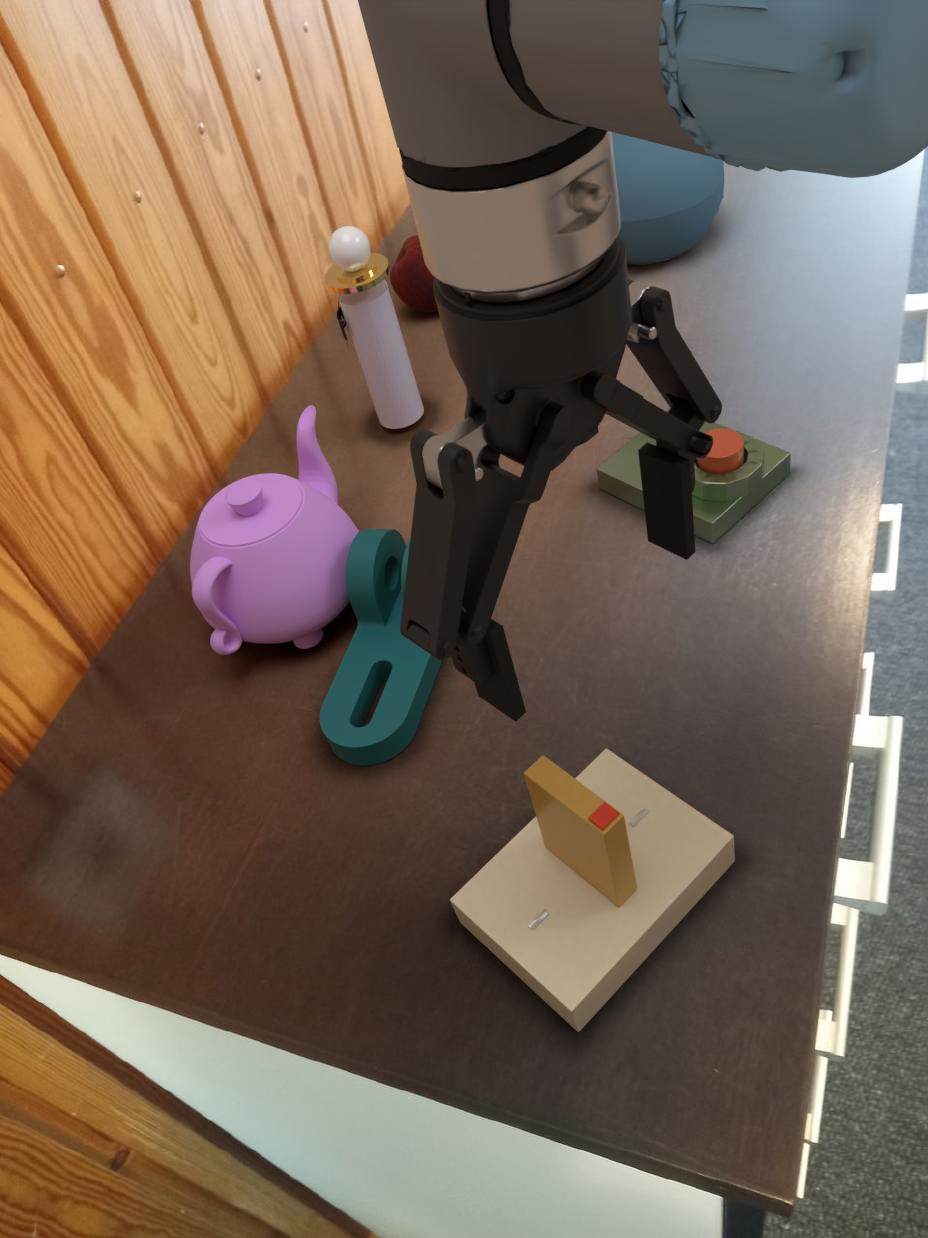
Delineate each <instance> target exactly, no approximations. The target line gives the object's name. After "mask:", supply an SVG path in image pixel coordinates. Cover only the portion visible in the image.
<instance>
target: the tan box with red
mask: <svg viewBox="0 0 928 1238" xmlns="http://www.w3.org/2000/svg"><path fill="white" fill-rule="evenodd" d="M522 775H523V777H524V781H525V784H526V787H527V790H528V794H529V797H530V801H531V803H532V808H533V810H534V813H535V814H534V815H535V817H537V821H538V824H539V827H540V831H541V834H542V837H543V841H544V844H545V847H546V848H547V849H548V850H550V851H551V852H552V853H553V854H554V855H556V856H557V857H558V858H559V859H561V860H562V861H563V862H564V863H565V864H567V865H568V866H569V867H570V868H572V869H573V870H574V871H575V872H576V873H578V874H579V875H580V876H581V877H583V878H584V879H585V880H586V881H587V882H589V883H590V884H591V885H592V886H593V887H595V888H596V889H597V890H598V891H600V892H601V893H602V894H603V895H604V896H606V897H607V898H608V899H609V900H611V901H612V902H613V903H614V904H615V905H617V906H618V907H620V906H621V905H622V904H623V903H624V902H625V901H626V900H627V899H628V898H629V897H630V896H631V895H632V894H633V893H634V892H635V891H636V890H637V883H636V878H635V873H634V867H633V862H632V856H631V851H630V845H629V840H628V835H627V829H626V824H625V818H624V815H623V814H622V813H621V812H619V811H618V810H617V809H615V808H614V807H612V806H611V805H610V804H608V803H607V802H606V801H604V800H603V799H602V798H600V797H599V796H598V795H596V794H595V793H594V792H592V791H591V790H590V789H588V788H587V787H586V786H584V785H583V784H582V783H580V782H579V781H578V780H576V779H575V778H576V777H574V776H572V775H571V774H570V773H568V772H567V771H566V770H564V769H563V768H561V767H560V766H559V765H558V764H556V763H555V762H553V761H552V760H551V759H550V758H548V757H547V756H545V755H543V754H542V755H541V756H540V757H539V758H537V760H535V762H534V763H532V764H531V765H530V766H529V767H528V768H527V769H526V770H525V771H524V772H523V774H522Z"/></svg>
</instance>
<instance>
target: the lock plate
mask: <svg viewBox="0 0 928 1238" xmlns="http://www.w3.org/2000/svg"><path fill="white" fill-rule="evenodd" d="M574 778H575V779H576V780H578V781H579V782H580V783H582V784H583V785H584V786H586V787H587V788H588V789H590V790H591V791H592V792H594V793H595V794H596V795H598V796H599V797H600V798H602V799H603V800H604V801H606V802H607V803H608V804H610V805H611V806H612V807H614V808H615V809H617V810H618V811H619V812H621V813H622V814H623V815H624V818H625V824H626V829H627V835H628V840H629V845H630V851H631V856H632V862H633V867H634V873H635V878H636V883H637V890H636V891H635V892H634V893H633V894H632V895H631V896H630V897H629V898H628V899H627V900H626V901H625V902H624V903H623V904H622V905H621V906H620V907H618V906H617V905H615V904H614V903H613V902H612V901H611V900H609V899H608V898H607V897H606V896H604V895H603V894H602V893H601V892H600V891H598V890H597V889H596V888H595V887H593V886H592V885H591V884H590V883H589V882H587V881H586V880H585V879H584V878H583V877H581V876H580V875H579V874H578V873H576V872H575V871H574V870H573V869H572V868H570V867H569V866H568V865H567V864H565V863H564V862H563V861H562V860H561V859H559V858H558V857H557V856H556V855H554V854H553V853H552V852H551V851H550V850H548V849H547V848H546V847H545V844H544V841H543V837H542V834H541V831H540V827H539V824H538V821H537V817H536V816H534V817H533V818H532V819H531V820H530V821H529V822H528V823H527V824H526V825H525V826H524V827H523V828H522V829H521V830H520V831H519V832H518V833H516V834H515V836H514V837H512V838H511V840H510V841H509V842H507V843H506V844H505V845H504V846H503V847H502V848H501V849H500V850H499V851H498V852H497V853H496V854H494V856H493V857H492V858H491V859H490V860H489V861H488V862H487V863H486V864H485V865H483V867H482V868H481V869H479V871H477V872H476V874H475V875H473V876H472V877H471V878H470V879H469V880H468V881H467V882H466V883H465V884H464V885H463V886H462V887H461V888H460V889H459V890H458V891H457V892H455V894H454V895H453V896H452V897H451V898H449V901H450V904H451V906H452V908H453V910H454V912H455V915H456V917H457V919H458V922H459V923H460V924H461V925H462V926H463V927H464V928H465V929H466V930H467V931H468V932H470V933H471V934H472V935H473V936H474V937H475V939H477V940H478V941H479V942H480V943H481V944H482V945H483V946H484V947H486V948H487V950H489V951H490V952H491V953H492V954H493V955H494V956H495V957H496V958H497V959H498V960H499V961H501V963H503V964H504V965H505V966H506V967H507V968H508V969H509V970H510V971H511V972H512V973H514V974H515V975H516V977H518V978H519V979H520V980H521V981H522V982H523V983H524V984H525V985H526V986H527V987H528V988H530V989H531V991H533V993H535V994H536V995H537V996H539V998H540V999H541V1000H542V1001H543V1002H545V1003H546V1004H547V1005H548V1006H549V1007H550V1008H551V1009H552V1010H553V1011H555V1012H556V1014H558V1015H559V1016H560V1017H561V1018H562V1019H563V1020H564V1021H565V1022H566V1023H567V1024H569V1025H570V1026H571V1027H572V1028H573V1029H574V1030H575V1031H576V1032H577V1033H580V1032H581V1031H582V1030H583V1029H584V1028H585V1026H586V1025H587V1024H588V1023H589V1022H590V1021H591V1020H592V1019H593V1018H594V1016H595V1015H596V1014H598V1012H599V1011H600V1010H601V1009H602V1008H603V1006H604V1005H605V1004H606V1003H607V1002H608V1001H609V1000H610V999H611V998H612V997H613V996H614V995H615V993H616V992H617V991H618V990H619V989H620V988H621V987H622V986H623V985H624V983H626V982H627V980H628V979H629V978H630V977H631V976H632V975H633V974H634V973H635V972H636V970H638V968H639V967H640V966H641V965H642V964H643V963H644V962H645V961H646V960H647V958H648V957H649V956H650V955H651V954H653V952H654V951H655V949H657V947H658V946H659V945H660V944H661V943H662V942H663V941H664V940H665V939H666V938H667V936H668V935H669V934H670V933H672V931H673V930H674V929H675V928H676V927H677V926H678V925H679V923H680V922H681V921H682V920H683V919H684V918H685V917H686V915H688V913H689V912H690V911H691V910H692V909H693V908H694V907H695V906H696V905H697V904H698V902H699V901H700V900H701V899H702V898H703V897H704V896H705V895H706V894H707V892H709V890H710V889H711V888H712V887H713V886H714V885H715V884H716V882H718V880H720V878H721V877H723V875H724V874H725V873H726V872H727V871H728V870H729V868H731V866H732V865H733V864H734V863H735V862H736V857H735V856H736V855H735V836H734V834H732V833H731V832H729V831H728V830H726V829H725V828H723V827H722V826H720V825H719V824H717V823H716V822H714V821H713V820H712V819H710V818H709V817H707V816H706V815H704V814H703V813H701V812H700V811H698V810H697V809H695V808H694V807H693V806H691V805H690V804H688V803H687V802H686V801H684V800H682V799H681V798H680V797H678V796H677V795H675V794H674V793H672V792H671V791H670V790H668V789H666V788H665V787H663V786H662V785H660V784H659V782H656V781H655V780H653V779H652V778H650V777H649V776H647V775H646V774H645V773H643V772H642V771H640V770H639V769H638V768H635V766H633V765H631V764H630V763H628V762H627V761H625V760H624V759H623V758H621V757H620V756H619V755H617V754H616V753H614V752H613V751H611V750H609V749H608V748H605V749H604V750H602V752H601V753H600V754H598V755H597V757H595V758H594V759H593V760H592V761H591V762H590V763H589V764H588V765H587V766H586V767H585V768H584V769H583V770H582V771H581V772H580V773H579V774H578V775H577V776H576V777H574Z"/></svg>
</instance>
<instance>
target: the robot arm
mask: <svg viewBox="0 0 928 1238" xmlns="http://www.w3.org/2000/svg"><path fill="white" fill-rule="evenodd" d="M357 3H358V6H359V10H360V13H361V14H360V15H361V18H362V21H363V25H364V29H365V32H366V36H367V40H368V44H369V48H370V52H371V55H372V59H373V62H374V66H375V70H376V74H377V77H378V81H379V85H380V88H381V92H382V96H383V99H384V104H385V107H386V110H387V115H388V117H389V123H390V126H391V130H392V134H393V137H394V140H395V144H396V147H397V148H398V151H399V155H400V159H401V169H402V173H403V177H404V182H405V186H406V190H407V194H408V198H409V203H410V206H411V211H412V215H413V219H414V224H415V227H416V231H417V235H418V236H419V240H420V245H421V249H422V253H423V257H424V261H425V265H426V266H427V268H428V269H429V271H430V272H431V274H432V275H433V276H434V280H433V291H434V296H435V300H436V304H437V308H438V315H439V319H440V323H441V328H442V331H443V336H444V338H445V342H446V346H447V351H448V354H449V356H450V359H451V362H452V364H453V365H454V367H455V369H456V371H457V372H458V374H459V376H460V378H461V380H462V382H463V384H464V386H465V389H466V403H465V410H464V419H463V420H462V421H460V422H458V423H457V424H455V425H453V426H452V427H450V428H449V429H447V430H446V431H443V432H442V433H440V434H438V433H436V432H433V431H431V430H429V429H426V428H422V429H420V430H419V429H418V431H417V432H416V433H414V435H413V436H412V437H411V440H410V443H409V451H410V457H411V462H412V465H413V466H412V467H413V473H414V477H415V478H414V479H415V483H416V485H415V495H414V503H413V512H412V514H413V515H412V519H411V529H410V538H409V540H410V546H409V555H408V563H407V572H406V581H405V590H404V598H403V607H402V616H401V624H400V632H401V634H402V635H403V636H404V637H406V638H407V639H409V640H410V641H412V642H413V643H415V644H416V645H418V646H419V647H420V648H422V649H423V650H425V651H426V652H428V653H429V654H431V655H432V656H434V657H435V658H437V659H438V660H442V661H446V660H447V659H448V658H450V657H451V660H452V663H453V666H454V669H455V670H457V671H458V672H459V673H460V674H462V675H463V676H465V677H466V678H468V679H469V680H470V681H472V682H473V684H474V687H475V690H476V694H477V696H478V697H479V698H481V699H482V700H483V701H484V702H486V703H488V704H489V705H491V706H492V707H494V708H495V709H496V710H498V711H500V712H501V713H502V714H504V715H505V716H507V717H508V718H509V719H511V720H513V721H514V722H518V721H519V720H520V719H521V718H522V717H523V716H524V715H525V714H526V713H527V710H526V706H525V703H524V699H523V695H522V692H521V691H522V690H521V688H520V683H519V679H518V676H517V672H516V669H515V666H514V662H513V658H512V654H511V650H510V647H509V644H508V640H507V637H506V631H505V628H504V625H502V624H500V623H499V622H497V621H496V620H494V619H492V617H493V614H494V611H495V609H496V605H497V602H498V599H499V596H500V593H501V590H502V588H503V584H504V583H505V582H504V581H505V578H506V576H507V573H508V570H509V566H510V563H511V562H512V558H513V555H514V552H515V549H516V545H517V543H518V541H519V537H520V535H521V531H522V528H523V525H524V522H525V519H526V517H527V514H528V510H529V507H530V506H531V505H532V504H534V503H538V502H540V500H541V499H542V497H543V496H544V492H545V489H546V487H547V483H548V481H549V477H550V475H551V472H553V471H554V470H556V468H558V467H559V466H560V465H562V464H563V462H565V460H567V459H568V457H569V456H570V454H572V452H573V451H574V450H575V449H576V448H577V447H580V446H581V445H583V444H585V443H587V442H589V441H590V440H592V439H593V438H594V437H595V436H596V435H598V433H599V432H600V431H599V426H600V424H601V423H602V421H603V420H604V417H605V415H607V416H609V417H611V418H613V419H615V420H617V421H618V422H621V423H622V424H624V425H626V426H628V427H630V428H632V429H633V430H634V431H637V432H639V433H643V434H644V435H646V436H648V437H650V438H652V439H655V440H656V446H655V445H653V444H651V443H648V442H647V443H646V444H645V445H643V446H642V447H641V448H640V449H639V450H638V454H639V463H640V472H641V482H642V491H643V500H644V509H645V510H644V515H645V516H644V518H645V527H646V535H647V542H649V543H651V544H652V545H655V546H657V547H659V548H661V549H663V550H665V551H667V552H670V553H671V554H673V555H676V556H678V557H680V558H682V559H683V560H686V561H688V560H689V559H690V558H691V557H692V556H693V555H694V554H696V538H695V536H696V535H694V520H693V504H692V492H693V491H694V487H695V474H694V473H695V468H694V467H695V465H694V456H696V457H699V458H705V457H706V456H707V455H708V454H709V452H710V451H711V448H712V446H713V437H712V436H711V435H708V434H705V433H703V432H700V431H699V430H700V428H701V427H702V426H703V424H704V423H705V422H707V423H710V424H711V423H714V422H715V423H716V422H717V420H718V419H719V418H720V416H721V414H722V409H723V404H722V401H721V400H720V398H719V396H718V394H717V393H716V390H715V389H714V387H713V386H712V385H711V383H710V381H709V379H708V378H707V376H706V374H705V373H704V371H703V370H702V367H701V366H700V365H699V363H698V361H697V360H696V358H695V356H694V355H693V353H692V352H691V350H690V348H689V347H688V344H687V343H686V342H685V340H684V338H683V336H682V335H681V333H680V332H679V330H678V328H677V326H676V320H675V314H674V307H673V301H672V295H671V293H670V291H668V290H667V289H664V288H661V287H657V286H654V285H650V284H647V283H644V282H640V281H637V280H634V279H631V278H629V273H628V264H627V263H626V253H625V247H624V244H623V242H622V240H621V238H620V237H619V236H618V233H619V231H620V228H621V223H620V208H619V199H618V189H617V180H616V170H615V161H614V151H613V142H612V132H614V133H618V134H622V135H626V136H630V137H634V138H638V139H642V140H646V141H650V142H654V143H658V144H662V145H666V146H670V147H674V148H678V149H682V150H686V151H690V152H694V153H698V154H702V155H706V156H710V157H713V158H715V159H721V160H723V161H724V164H727V166H731V167H736V168H740V167H742V168H744V169H747V170H751V171H754V172H760V171H762V170H765V169H766V168H767V169H769V170H772V171H776V172H780V173H781V172H787V171H798V172H804V173H805V172H806V173H814V174H821V175H828V176H835V177H841V178H848V179H856V178H858V179H859V178H870V177H874V176H879V175H881V174H885V173H887V172H890V171H892V170H895V169H897V168H900V167H901V166H902V165H905V164H906V163H908V162H910V161H911V160H913V159H914V158H916V157H917V156H919V154H920V153H922V152H923V151H924V150H925V149H927V148H928V0H357ZM626 346H627V347H626ZM626 348H628V349H629V351H630V352H631V353H632V355H633V356H634V357H635V359H636V361H637V362H638V364H639V366H640V367H641V368H642V369H643V371H644V372H645V373H646V375H647V377H648V378H649V380H650V382H652V384H653V385H654V387H655V388H656V390H657V391H658V392H659V394H660V395H661V397H662V399H664V401H665V402H666V404H667V406H668V407H669V409H670V410H669V409H668V410H669V411H668V410H664V409H663V408H661V407H660V406H657V405H656V404H654V403H652V402H651V401H649V400H647V399H646V398H644V396H643V394H640V393H639V392H637V391H635V390H634V389H633V388H630V387H628V386H627V385H625V384H623V382H621V381H620V380H619V379H617V376H618V374H619V370H620V367H621V364H622V361H623V357H624V354H625V350H626ZM666 411H668V412H666ZM501 456H504V457H505V458H507V459H508V460H511V461H513V462H515V463H517V464H519V465H521V466H523V468H522V471H521V474H520V476H519V475H517V474H514V473H512V472H510V471H508V470H507V469H504V468H502V466H500V458H501Z"/></svg>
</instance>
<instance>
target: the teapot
mask: <svg viewBox="0 0 928 1238" xmlns="http://www.w3.org/2000/svg"><path fill="white" fill-rule="evenodd" d="M316 420H317V409H316V407H315V405H312V404H310V405H308V406H307V407H306V408H304V409H303V411H302V413H301V414H300V417H299V419H298V422H297V426H296V452H297V461H298V478H295V477H293V476H289V475H288V474H287V475H286V474H282V473H281V474H280V473H275V472H274V473H272V472H271V473H270V472H269V473H268V472H267V473H257V474H252V475H249V476H246V477H243V478H241V479H237V480H236V481H234V482H232V483H230V484H228V485H226V486H225V487H224V488H222V489H220V490H219V491H218V492H217V493H216V494H214V496H212V497H211V499H210V500H209V501H208V502H207V503H206V504H205V506H204V507H203V509H202V511H201V513H200V515H199V518H198V520H197V523H196V527H195V530H194V535H193V540H192V544H191V551H190V559H189V560H190V561H189V571H190V572H189V573H190V582H191V597H192V600H193V602H194V604H195V606H196V608H197V609H198V611H199V612H200V613H201V615H202V617H203V619H204V620H205V621H206V622H207V624H208V625H209V626H210V627H212V628H213V629H214V630H213V631H212V633H211V635H210V639H209V643H210V647H211V649H212V650H213V651H214V652H215V653H216V654H217V655H220V656H229V655H233V654H234V653H235V652H237V651H238V650H239V649H240V648H241V646H242V645H243V644H242V643H243V642H246V643H252V644H264V645H265V644H266V645H267V644H269V645H270V644H271V645H273V644H282V643H287V642H292V641H293V645H294V646H295V647H297V648H299V649H302V650H304V649H305V650H306V649H310V648H313V647H315V646H316V645H318V644H319V643H320V642H321V641H322V639H323V637H324V630H323V628H325V626H327V625H329V624H330V623H331V622H332V621H333V620H334V619H335V618H337V617H338V616H339V615H340V614H341V613H342V612H343V611H344V610H345V608H346V607H347V606H348V604H350V601H349V598H348V593H347V588H346V564H347V558H348V553H349V549H350V546H351V544H352V542H353V539H354V538H355V536H356V535H357V533H358V532H359V531H360V530H359V529H358V527H357V526H356V524H355V523H354V521H353V520H352V519H351V517H350V516H349V515H348V514H347V513H346V512H345V510H343V508H342V507H341V506H340V505H339V493H338V491H339V490H338V484H337V480H336V477H335V474H334V472H333V470H332V468H331V467H330V464H329V463H328V461H327V459H326V457H325V455H324V453H323V452H322V449H321V447H320V445H319V442H318V438H317V433H316V432H317V431H316Z"/></svg>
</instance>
